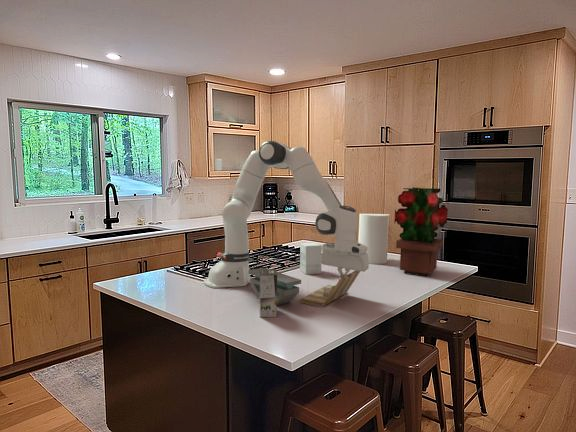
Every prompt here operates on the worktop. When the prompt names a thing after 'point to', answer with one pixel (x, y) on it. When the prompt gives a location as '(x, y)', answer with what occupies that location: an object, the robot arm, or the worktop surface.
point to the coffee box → (268, 292)
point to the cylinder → (374, 236)
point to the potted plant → (419, 229)
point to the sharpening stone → (284, 286)
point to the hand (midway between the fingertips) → (343, 278)
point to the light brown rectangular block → (318, 296)
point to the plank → (343, 286)
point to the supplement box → (310, 258)
